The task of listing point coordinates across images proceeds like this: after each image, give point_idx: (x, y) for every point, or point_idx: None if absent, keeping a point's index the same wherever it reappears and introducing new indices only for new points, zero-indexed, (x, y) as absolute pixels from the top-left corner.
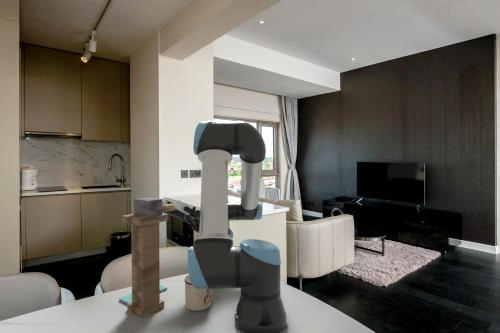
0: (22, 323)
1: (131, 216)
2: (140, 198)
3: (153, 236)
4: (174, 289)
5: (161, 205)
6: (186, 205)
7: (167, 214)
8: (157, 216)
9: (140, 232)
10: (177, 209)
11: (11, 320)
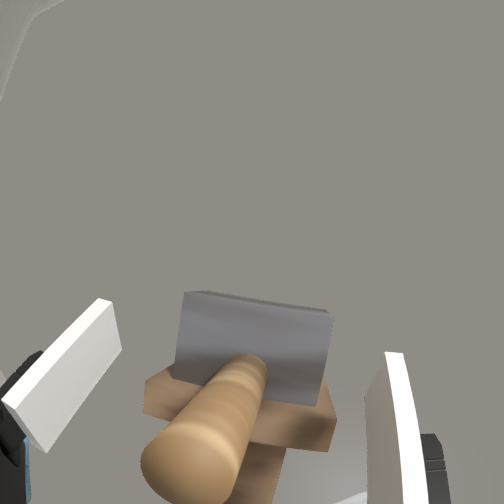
0: (365, 501)
1: None
2: (315, 310)
3: None
4: None
5: (181, 327)
6: (44, 358)
7: (148, 380)
8: (172, 364)
9: None
10: (104, 370)
11: None
